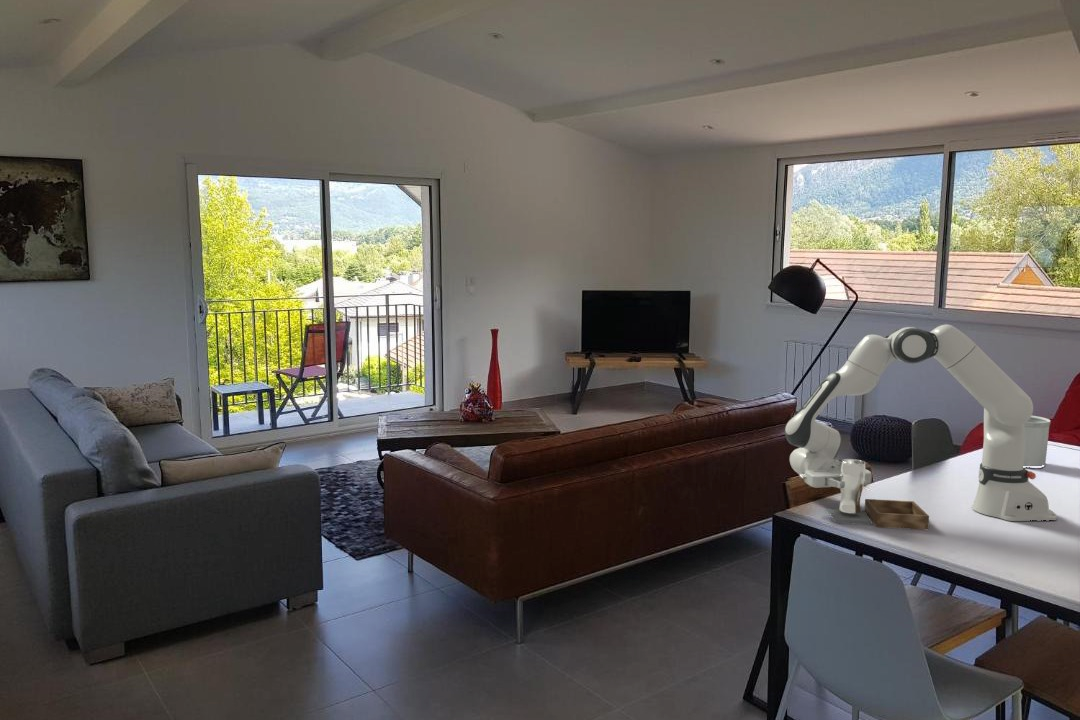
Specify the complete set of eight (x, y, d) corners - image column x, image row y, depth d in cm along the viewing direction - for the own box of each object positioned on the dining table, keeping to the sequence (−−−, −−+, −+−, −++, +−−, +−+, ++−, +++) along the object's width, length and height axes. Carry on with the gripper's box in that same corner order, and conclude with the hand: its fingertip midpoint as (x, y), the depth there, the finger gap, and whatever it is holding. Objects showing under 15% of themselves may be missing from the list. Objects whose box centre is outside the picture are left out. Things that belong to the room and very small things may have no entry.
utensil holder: (1013, 469, 305) (1017, 422, 303) (993, 458, 320) (997, 413, 318) (1054, 470, 305) (1059, 422, 302) (1032, 459, 319) (1036, 414, 317)
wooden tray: (912, 514, 252) (913, 501, 251) (928, 529, 238) (929, 516, 238) (864, 511, 254) (865, 498, 253) (876, 527, 240) (877, 513, 239)
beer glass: (864, 515, 243) (868, 465, 241) (838, 513, 244) (842, 463, 242) (859, 508, 250) (864, 459, 248) (835, 506, 251) (839, 457, 249)
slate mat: (862, 513, 252) (862, 510, 252) (871, 524, 242) (871, 521, 242) (828, 511, 253) (828, 508, 253) (835, 522, 243) (835, 519, 243)
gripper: (796, 464, 255) (823, 476, 242) (855, 460, 261) (883, 472, 247) (795, 484, 256) (821, 497, 243) (853, 480, 261) (882, 493, 248)
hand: (853, 484), depth 245 cm, fingers closed on beer glass, 6 cm apart
